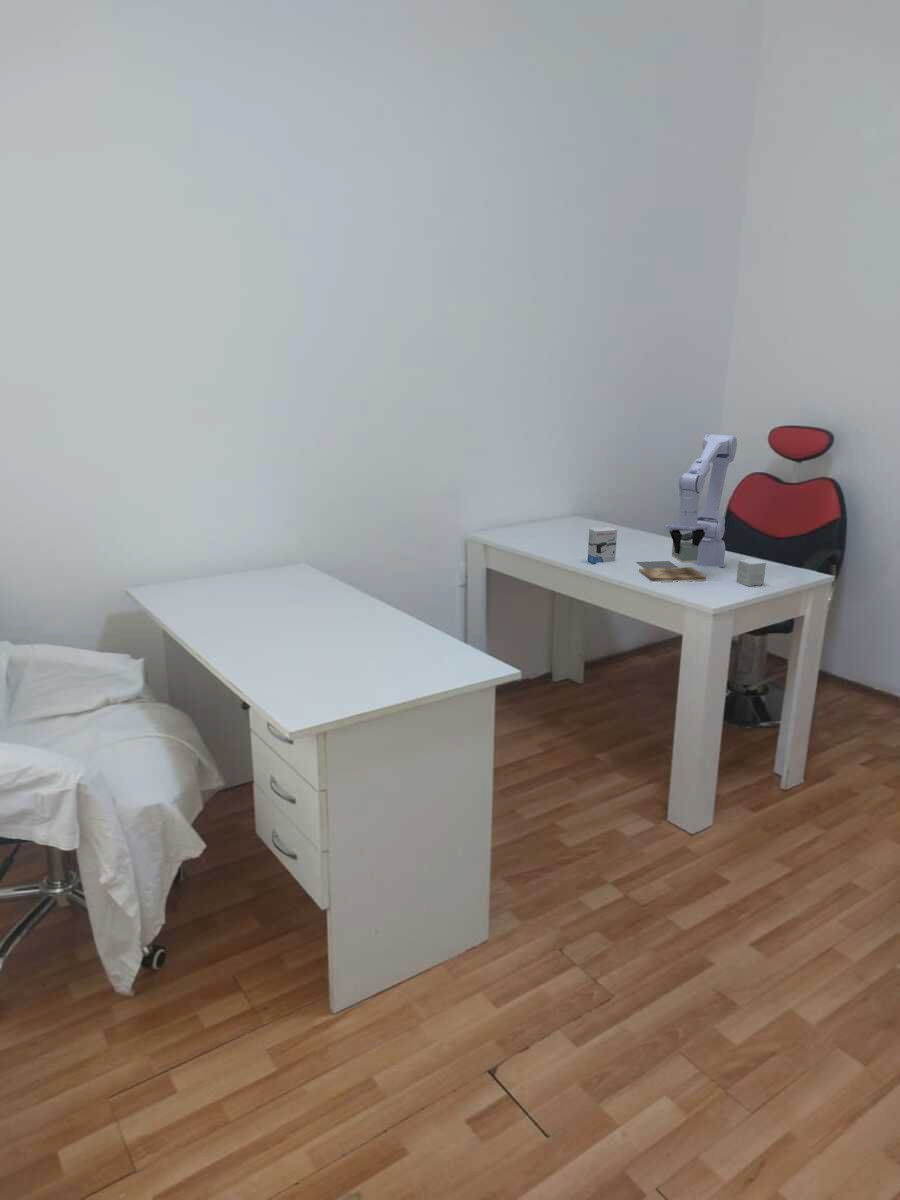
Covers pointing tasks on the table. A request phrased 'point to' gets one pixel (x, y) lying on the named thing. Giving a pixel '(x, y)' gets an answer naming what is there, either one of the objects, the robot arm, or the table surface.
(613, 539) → the ink box
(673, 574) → the oak board
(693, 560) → the block
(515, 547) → the table surface
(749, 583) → the product box
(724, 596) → the table surface
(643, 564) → the rubber mat
